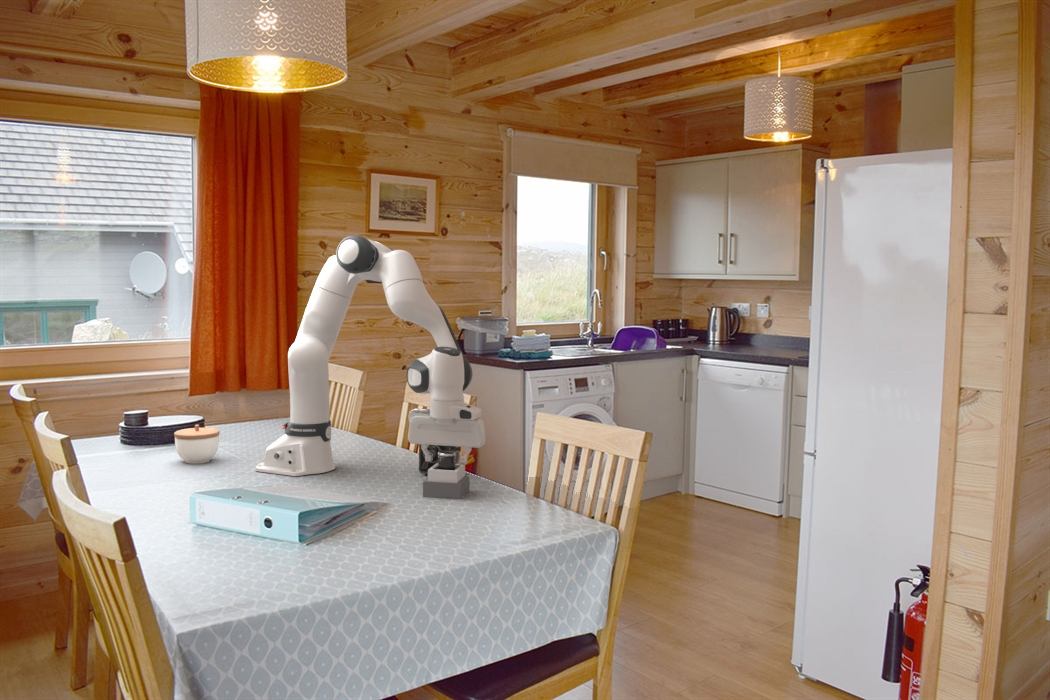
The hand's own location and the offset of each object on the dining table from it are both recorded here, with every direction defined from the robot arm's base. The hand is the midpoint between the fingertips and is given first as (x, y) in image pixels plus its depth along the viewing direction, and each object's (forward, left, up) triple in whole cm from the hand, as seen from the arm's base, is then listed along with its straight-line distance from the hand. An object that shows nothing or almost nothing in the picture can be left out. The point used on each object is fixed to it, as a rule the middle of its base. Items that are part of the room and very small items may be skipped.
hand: (446, 462), depth 209 cm
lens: (0, 0, -4) cm, 4 cm away
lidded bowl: (-83, +17, -9) cm, 85 cm away
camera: (-8, +21, -9) cm, 24 cm away
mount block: (0, 0, -8) cm, 8 cm away
